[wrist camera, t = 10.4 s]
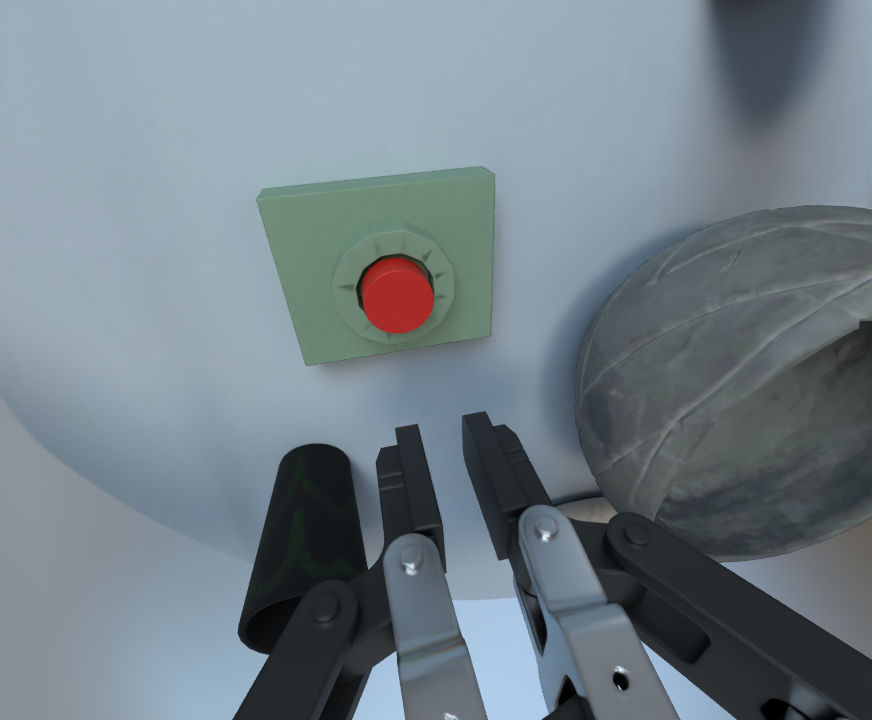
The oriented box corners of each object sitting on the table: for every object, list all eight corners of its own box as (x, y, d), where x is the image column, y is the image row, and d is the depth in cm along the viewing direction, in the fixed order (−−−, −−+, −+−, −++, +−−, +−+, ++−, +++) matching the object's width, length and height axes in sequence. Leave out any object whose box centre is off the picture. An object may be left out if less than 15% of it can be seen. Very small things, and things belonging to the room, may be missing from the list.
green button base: (307, 347, 27) (304, 384, 24) (261, 188, 22) (250, 209, 18) (481, 320, 29) (499, 351, 26) (482, 166, 23) (507, 180, 20)
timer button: (366, 322, 23) (369, 338, 22) (356, 261, 21) (358, 275, 20) (429, 313, 24) (436, 328, 22) (425, 252, 22) (432, 265, 20)
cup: (247, 483, 33) (213, 651, 23) (294, 420, 30) (278, 581, 21) (332, 507, 37) (332, 660, 27) (380, 453, 34) (400, 601, 25)
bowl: (679, 96, 23) (1054, 122, 11) (825, 265, 33) (1113, 377, 21) (469, 371, 31) (556, 558, 19) (635, 442, 41) (763, 597, 29)
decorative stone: (508, 546, 47) (525, 590, 43) (518, 496, 42) (538, 541, 38) (610, 525, 49) (635, 565, 45) (631, 476, 44) (661, 516, 40)
